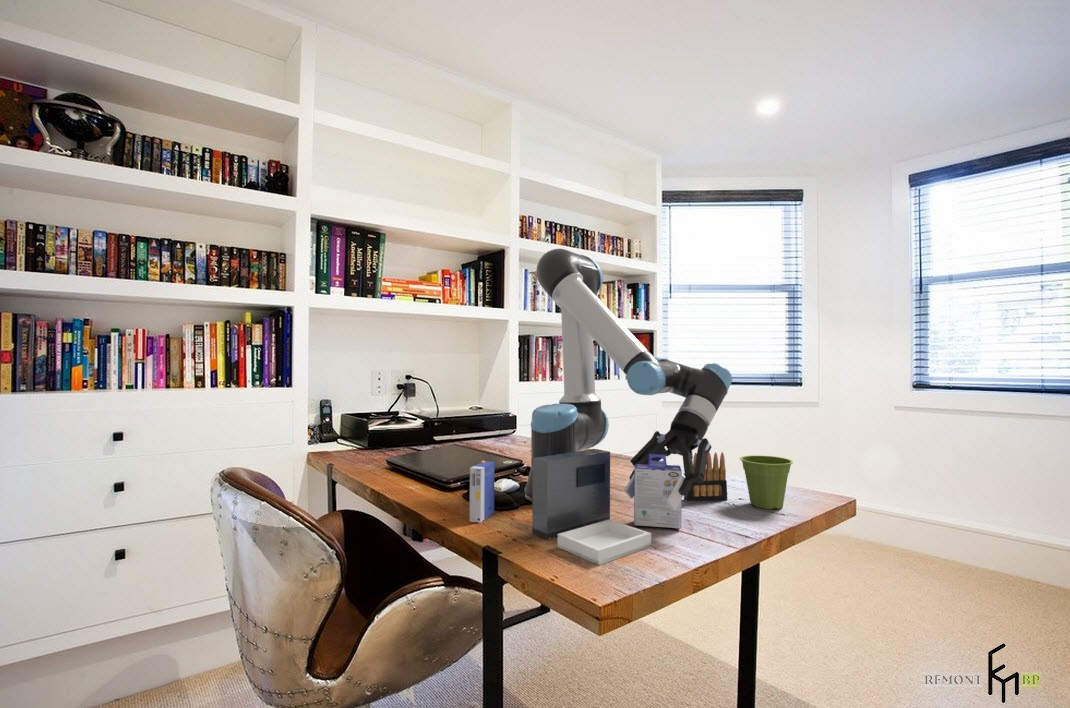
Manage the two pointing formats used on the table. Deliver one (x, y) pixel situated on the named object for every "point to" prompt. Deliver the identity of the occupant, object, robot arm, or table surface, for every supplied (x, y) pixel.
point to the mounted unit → (570, 491)
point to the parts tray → (604, 541)
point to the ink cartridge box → (656, 493)
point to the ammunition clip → (710, 482)
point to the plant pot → (766, 480)
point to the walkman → (481, 491)
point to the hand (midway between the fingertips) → (648, 500)
